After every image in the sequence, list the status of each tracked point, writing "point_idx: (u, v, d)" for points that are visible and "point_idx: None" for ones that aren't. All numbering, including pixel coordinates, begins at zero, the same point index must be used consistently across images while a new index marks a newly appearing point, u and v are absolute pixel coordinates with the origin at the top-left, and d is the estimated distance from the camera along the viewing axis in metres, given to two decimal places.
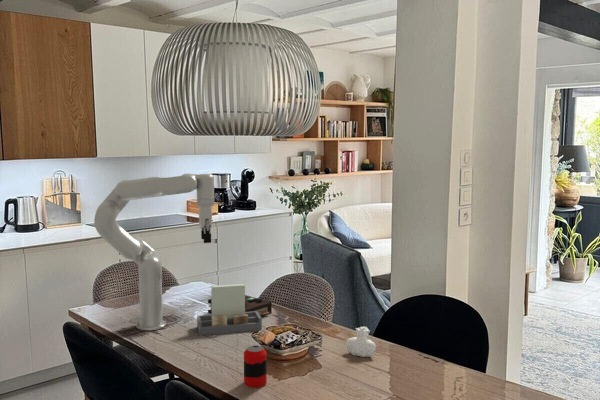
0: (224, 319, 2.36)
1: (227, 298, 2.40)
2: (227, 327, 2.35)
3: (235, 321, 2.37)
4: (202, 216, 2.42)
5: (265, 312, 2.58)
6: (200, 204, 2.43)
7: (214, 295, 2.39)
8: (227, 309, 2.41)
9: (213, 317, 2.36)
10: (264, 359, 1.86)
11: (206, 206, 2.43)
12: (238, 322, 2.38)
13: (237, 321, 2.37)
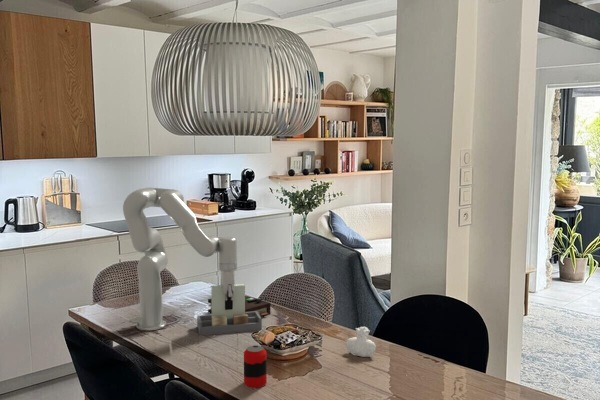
0: (224, 319, 2.36)
1: None
2: (227, 327, 2.35)
3: (235, 321, 2.37)
4: (225, 282, 2.36)
5: (263, 313, 2.57)
6: (223, 269, 2.37)
7: (214, 295, 2.39)
8: None
9: (213, 317, 2.36)
10: (264, 359, 1.86)
11: (229, 271, 2.37)
12: (238, 322, 2.38)
13: (237, 321, 2.37)
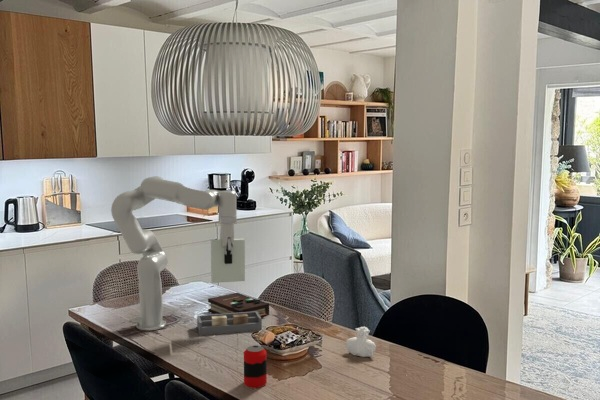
0: (224, 319, 2.36)
1: None
2: (227, 327, 2.35)
3: (235, 321, 2.37)
4: (224, 235, 2.34)
5: (261, 313, 2.56)
6: (222, 222, 2.35)
7: (214, 249, 2.37)
8: None
9: (213, 317, 2.36)
10: (264, 359, 1.86)
11: (228, 224, 2.35)
12: (238, 322, 2.38)
13: (237, 321, 2.37)
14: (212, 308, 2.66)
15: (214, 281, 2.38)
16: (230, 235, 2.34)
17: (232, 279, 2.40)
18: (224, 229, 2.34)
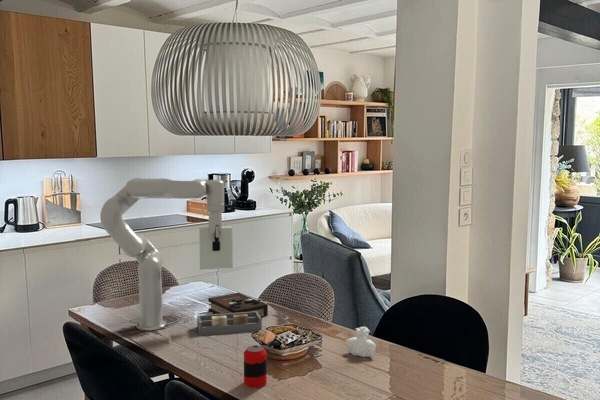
0: (224, 319, 2.36)
1: None
2: (227, 327, 2.35)
3: (235, 321, 2.37)
4: (212, 222, 2.41)
5: (259, 314, 2.55)
6: (210, 210, 2.42)
7: (202, 237, 2.44)
8: None
9: (213, 317, 2.36)
10: (264, 359, 1.86)
11: (216, 212, 2.41)
12: (238, 322, 2.38)
13: (237, 321, 2.37)
14: (212, 308, 2.67)
15: (202, 268, 2.45)
16: (218, 223, 2.41)
17: (221, 266, 2.47)
18: (212, 217, 2.41)
